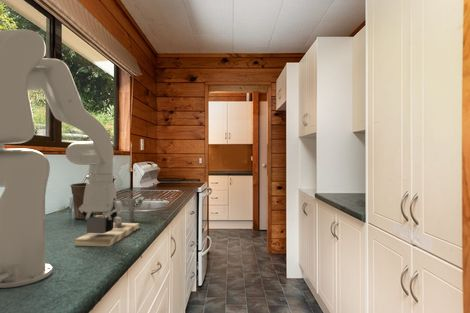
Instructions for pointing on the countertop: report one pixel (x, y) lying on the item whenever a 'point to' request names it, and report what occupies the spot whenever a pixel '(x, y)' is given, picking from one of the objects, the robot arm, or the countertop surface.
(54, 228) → the countertop surface
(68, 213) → the countertop surface
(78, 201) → the plant pot
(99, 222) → the grey and orange block
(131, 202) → the mechanical component
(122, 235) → the light wood flat block
